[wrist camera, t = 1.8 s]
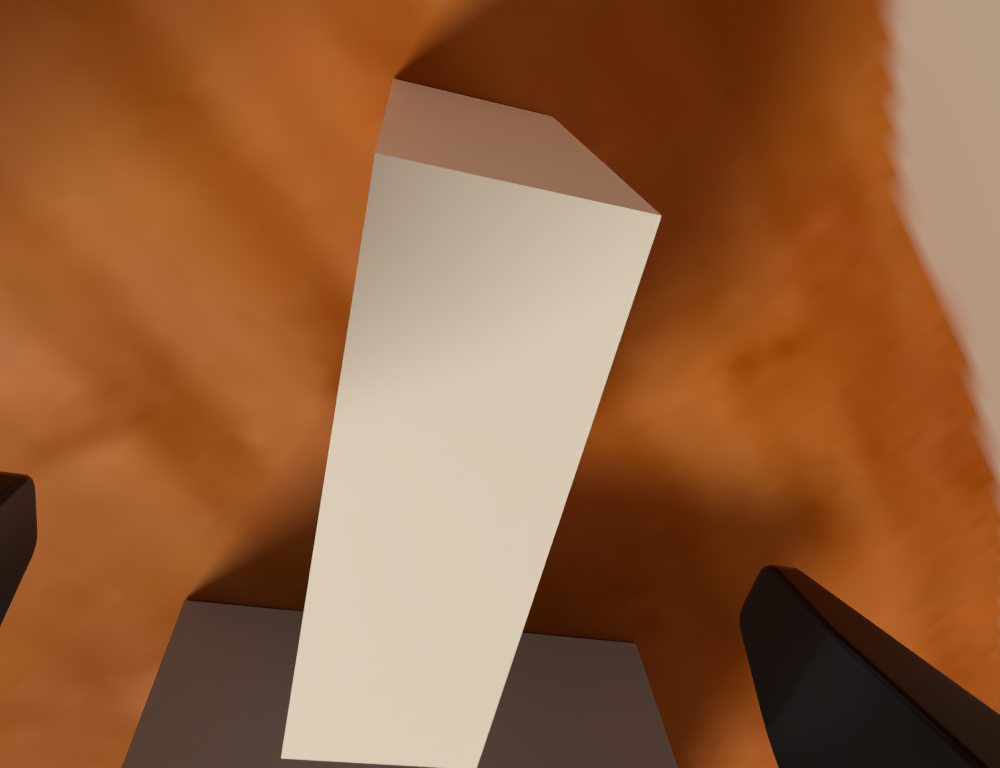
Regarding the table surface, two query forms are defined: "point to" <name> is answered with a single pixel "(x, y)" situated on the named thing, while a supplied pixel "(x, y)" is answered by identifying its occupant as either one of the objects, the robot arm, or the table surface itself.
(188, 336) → the table surface
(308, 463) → the table surface
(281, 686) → the frame
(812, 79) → the table surface
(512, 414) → the cream block
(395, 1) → the table surface
